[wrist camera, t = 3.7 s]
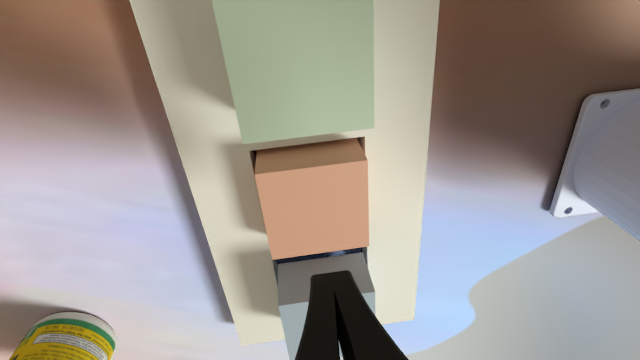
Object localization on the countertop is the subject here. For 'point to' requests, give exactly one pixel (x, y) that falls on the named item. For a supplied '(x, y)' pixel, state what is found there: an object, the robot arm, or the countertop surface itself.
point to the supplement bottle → (68, 339)
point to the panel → (239, 159)
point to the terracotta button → (314, 197)
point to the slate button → (297, 290)
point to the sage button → (298, 65)
